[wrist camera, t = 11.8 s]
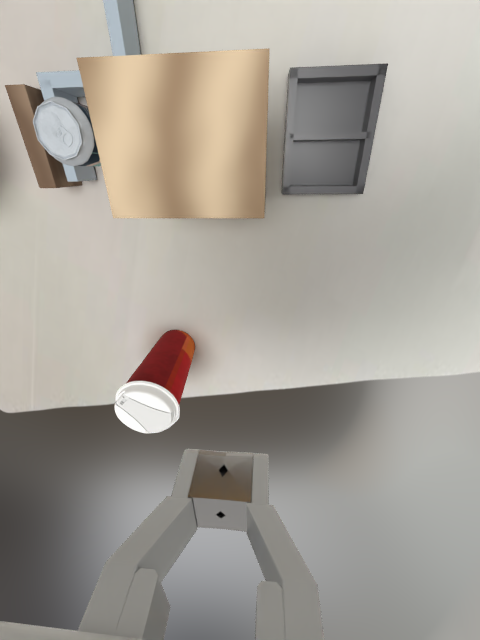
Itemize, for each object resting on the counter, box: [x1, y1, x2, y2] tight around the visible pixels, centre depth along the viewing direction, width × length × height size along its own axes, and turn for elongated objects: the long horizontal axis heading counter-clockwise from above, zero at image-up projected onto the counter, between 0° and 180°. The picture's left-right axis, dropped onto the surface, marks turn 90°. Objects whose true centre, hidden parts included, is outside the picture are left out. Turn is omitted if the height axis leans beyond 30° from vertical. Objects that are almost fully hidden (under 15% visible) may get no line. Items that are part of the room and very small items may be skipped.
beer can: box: [33, 97, 101, 166], centre depth 27 cm, size 5×5×12 cm
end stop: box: [5, 84, 82, 188], centre depth 31 cm, size 2×9×5 cm, turn 1°
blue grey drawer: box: [36, 0, 141, 182], centre depth 28 cm, size 9×16×4 cm, turn 1°
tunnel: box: [77, 49, 269, 218], centre depth 25 cm, size 12×10×15 cm
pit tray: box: [282, 64, 388, 194], centre depth 29 cm, size 9×11×2 cm
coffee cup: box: [115, 330, 195, 433], centre depth 40 cm, size 8×8×15 cm
